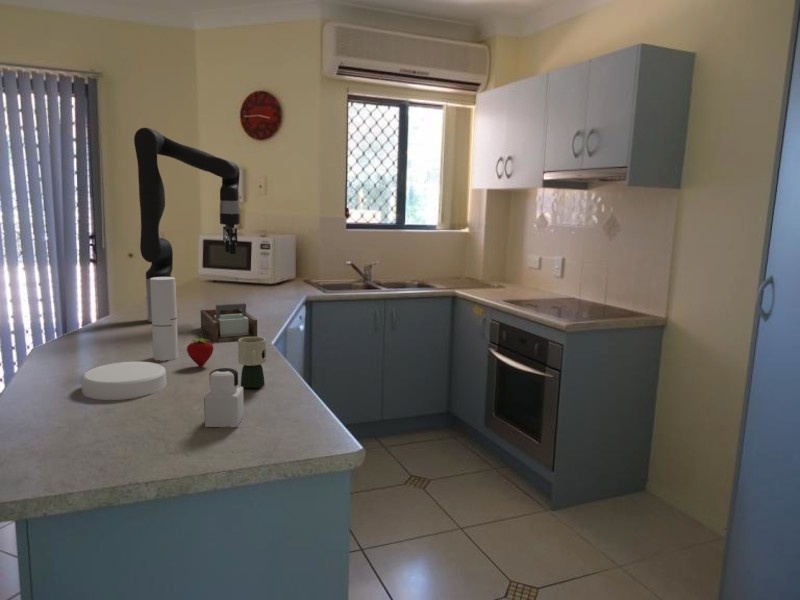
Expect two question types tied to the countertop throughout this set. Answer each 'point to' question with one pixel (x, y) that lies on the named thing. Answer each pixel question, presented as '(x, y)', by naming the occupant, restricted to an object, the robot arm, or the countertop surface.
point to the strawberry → (200, 351)
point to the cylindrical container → (164, 318)
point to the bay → (212, 326)
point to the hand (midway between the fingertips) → (230, 253)
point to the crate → (232, 320)
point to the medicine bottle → (223, 399)
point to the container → (123, 380)
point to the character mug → (252, 360)
